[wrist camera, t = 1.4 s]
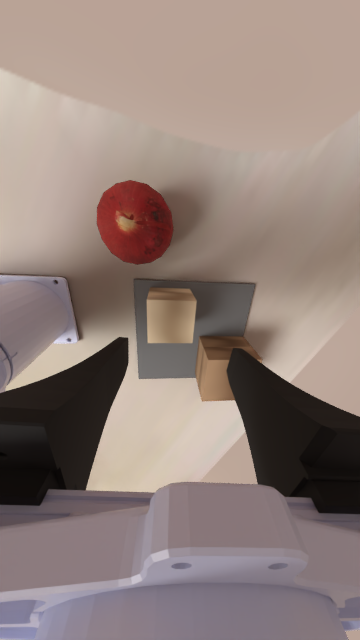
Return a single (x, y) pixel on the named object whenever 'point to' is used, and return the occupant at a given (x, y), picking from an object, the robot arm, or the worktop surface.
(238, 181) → the worktop surface
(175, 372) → the mat
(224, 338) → the tower base
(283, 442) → the robot arm
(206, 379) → the tower top
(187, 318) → the cube
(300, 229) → the worktop surface
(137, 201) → the red round fruit
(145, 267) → the worktop surface
